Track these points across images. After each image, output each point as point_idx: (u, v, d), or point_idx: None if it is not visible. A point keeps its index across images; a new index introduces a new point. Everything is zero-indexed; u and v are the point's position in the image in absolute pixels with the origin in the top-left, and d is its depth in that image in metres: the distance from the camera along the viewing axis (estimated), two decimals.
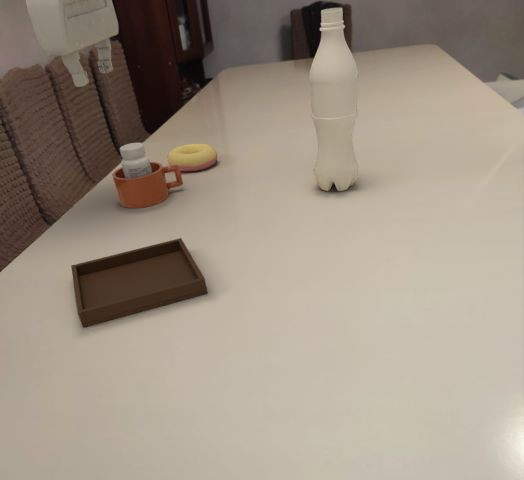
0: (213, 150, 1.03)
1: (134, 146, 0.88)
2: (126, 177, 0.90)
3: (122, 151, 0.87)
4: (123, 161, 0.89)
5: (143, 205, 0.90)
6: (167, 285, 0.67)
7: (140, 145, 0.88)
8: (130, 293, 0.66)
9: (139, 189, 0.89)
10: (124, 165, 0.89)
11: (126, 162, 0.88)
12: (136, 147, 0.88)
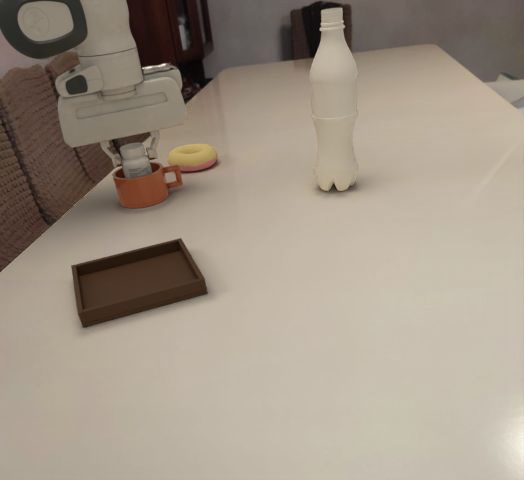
0: (213, 150, 1.03)
1: (134, 146, 0.88)
2: (126, 177, 0.90)
3: (122, 151, 0.87)
4: (123, 161, 0.89)
5: (143, 205, 0.90)
6: (167, 285, 0.67)
7: (140, 145, 0.88)
8: (130, 293, 0.66)
9: (139, 189, 0.89)
10: (124, 165, 0.89)
11: (126, 162, 0.88)
12: (136, 147, 0.88)
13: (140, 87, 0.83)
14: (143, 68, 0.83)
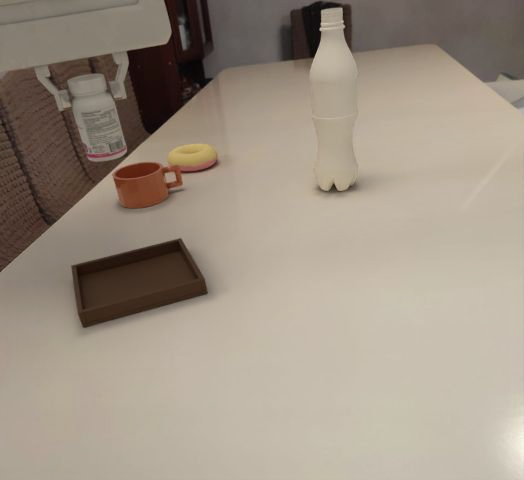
0: (213, 150, 1.03)
1: (89, 77, 0.57)
2: (79, 126, 0.59)
3: (70, 84, 0.57)
4: (73, 101, 0.58)
5: (143, 205, 0.90)
6: (167, 285, 0.67)
7: (99, 75, 0.57)
8: (130, 293, 0.66)
9: (139, 189, 0.89)
10: (75, 107, 0.58)
11: (77, 102, 0.57)
12: (92, 78, 0.57)
13: None
14: None
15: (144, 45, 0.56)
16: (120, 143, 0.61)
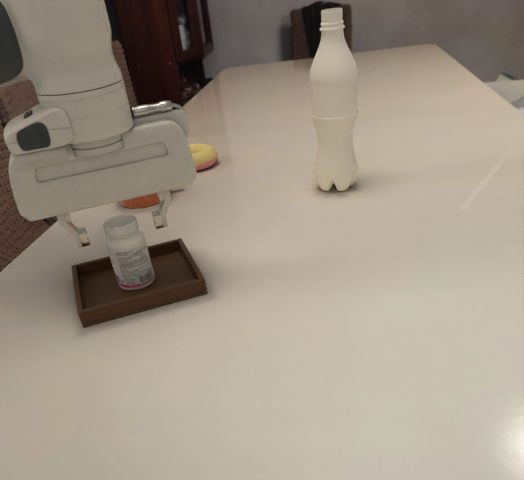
0: (213, 150, 1.03)
1: (123, 221, 0.63)
2: (112, 262, 0.65)
3: (106, 229, 0.62)
4: (108, 241, 0.64)
5: (143, 205, 0.90)
6: (167, 285, 0.67)
7: (132, 219, 0.63)
8: (130, 293, 0.66)
9: None
10: (110, 247, 0.63)
11: (112, 243, 0.63)
12: (126, 223, 0.62)
13: (129, 136, 0.57)
14: (133, 109, 0.57)
15: (172, 188, 0.62)
16: (149, 274, 0.67)
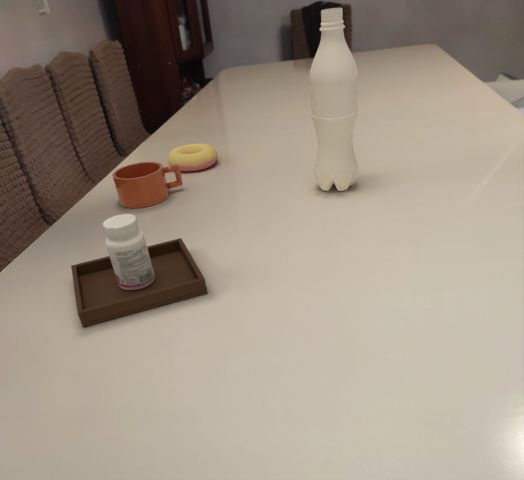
0: (213, 150, 1.03)
1: (123, 221, 0.63)
2: (112, 262, 0.65)
3: (106, 229, 0.62)
4: (108, 241, 0.64)
5: (143, 205, 0.90)
6: (167, 285, 0.67)
7: (132, 219, 0.63)
8: (130, 293, 0.66)
9: (139, 189, 0.89)
10: (109, 247, 0.63)
11: (112, 243, 0.63)
12: (126, 223, 0.62)
13: None
14: None
15: None
16: (149, 273, 0.67)
